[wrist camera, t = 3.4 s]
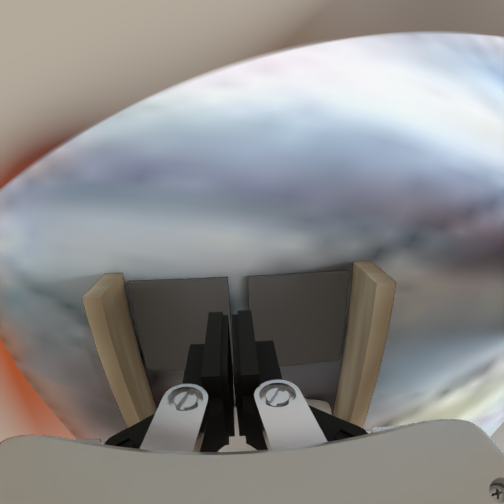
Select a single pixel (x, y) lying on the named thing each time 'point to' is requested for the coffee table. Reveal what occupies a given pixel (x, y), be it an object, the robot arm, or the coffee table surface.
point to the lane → (353, 363)
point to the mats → (260, 303)
